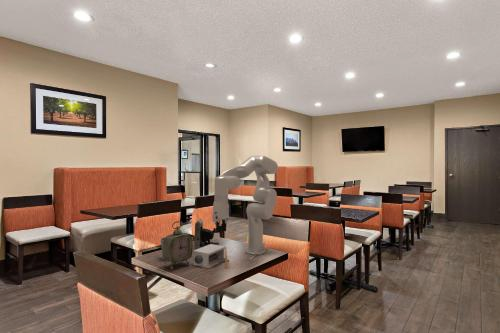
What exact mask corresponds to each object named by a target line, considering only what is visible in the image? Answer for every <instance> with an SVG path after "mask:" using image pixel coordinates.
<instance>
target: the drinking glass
mask: <svg viewBox="0 0 500 333" xmlns="http://www.w3.org/2000/svg"><path fill="white" fill-rule="evenodd" d="M163 240H164V237H161V239H160V246H161V257H162V258H161V259H162V260H163V261H167V260H165V259H164V255H163ZM167 262H168V261H167Z"/></svg>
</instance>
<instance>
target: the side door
mask: <svg viewBox="0 0 500 333" xmlns="http://www.w3.org/2000/svg"><path fill="white" fill-rule="evenodd" d="M224 258H225V261H224V264H225V265H224V266H225V269H228V268H227V267H228V263H230V259H228V248H227V247H226V248H225V249H224Z"/></svg>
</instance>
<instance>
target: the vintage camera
mask: <svg viewBox="0 0 500 333" xmlns="http://www.w3.org/2000/svg"><path fill="white" fill-rule="evenodd" d="M215 233H216V227H213V230H211V229H209V228H204V221H203V220H202V219H199V220H197V221H196V222H195V224H194V239H193V240H194V242H193V243H194V244H193V251H194V250H196V249H199V248H202V247H204V246H207V245H210V244H213V245H219V246H220V243H219V242H213V241H211V240H213V239H214V237H215Z"/></svg>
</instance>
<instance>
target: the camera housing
mask: <svg viewBox="0 0 500 333" xmlns="http://www.w3.org/2000/svg"><path fill="white" fill-rule="evenodd" d="M225 248H227V247H226V246H224V245H220V244H219V245H213V244H210V245H207V246H204V247H201V248H199V249H196V250H194V249H193V250H192V255H193V256H192V257H193V258H192V261H193V266H196V267H202V268H206V269H210V268H212V267H214V266H217V265H218V264H220V263H222V262H225Z"/></svg>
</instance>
